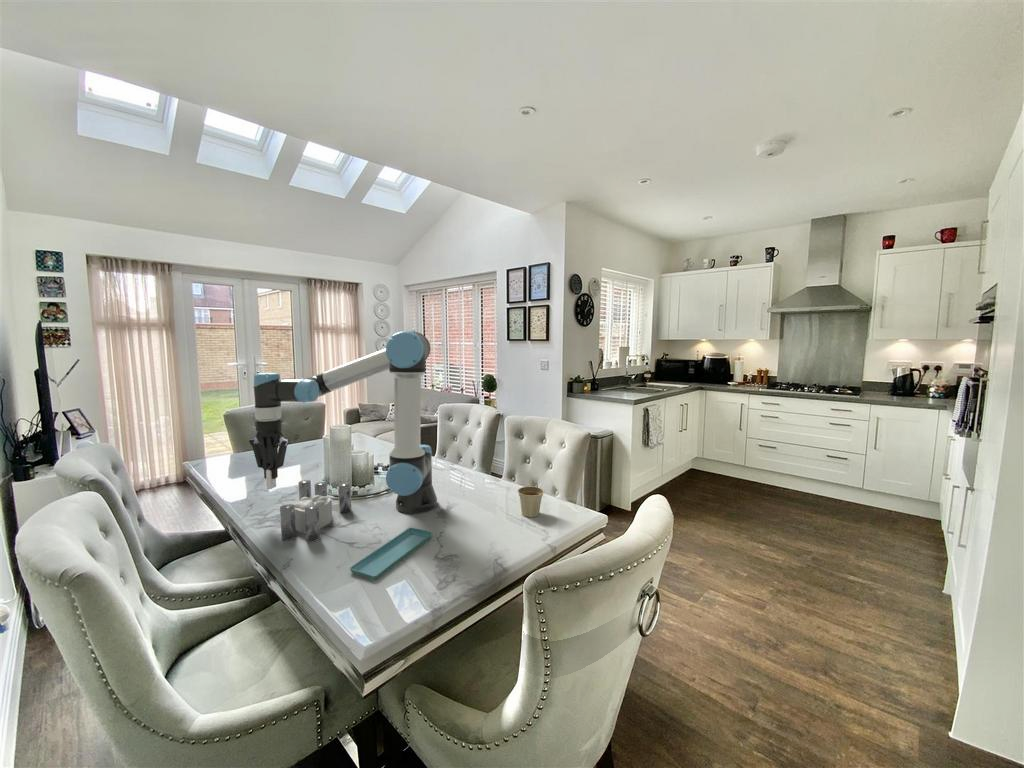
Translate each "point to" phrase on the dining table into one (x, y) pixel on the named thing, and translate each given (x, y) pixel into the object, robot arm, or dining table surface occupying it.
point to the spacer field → (311, 510)
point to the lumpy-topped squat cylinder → (324, 510)
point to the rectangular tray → (391, 553)
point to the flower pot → (530, 500)
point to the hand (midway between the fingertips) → (271, 487)
